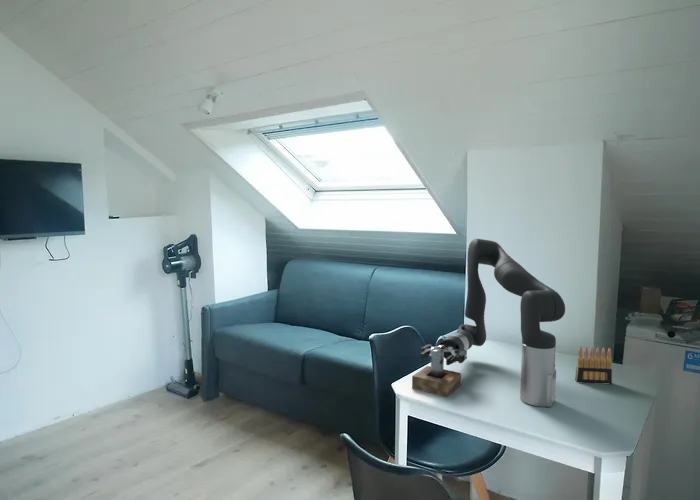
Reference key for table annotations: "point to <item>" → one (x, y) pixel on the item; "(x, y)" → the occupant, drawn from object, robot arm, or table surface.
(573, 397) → the table surface
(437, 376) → the barrel peg
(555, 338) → the robot arm
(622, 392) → the table surface
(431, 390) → the block
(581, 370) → the ammunition clip
